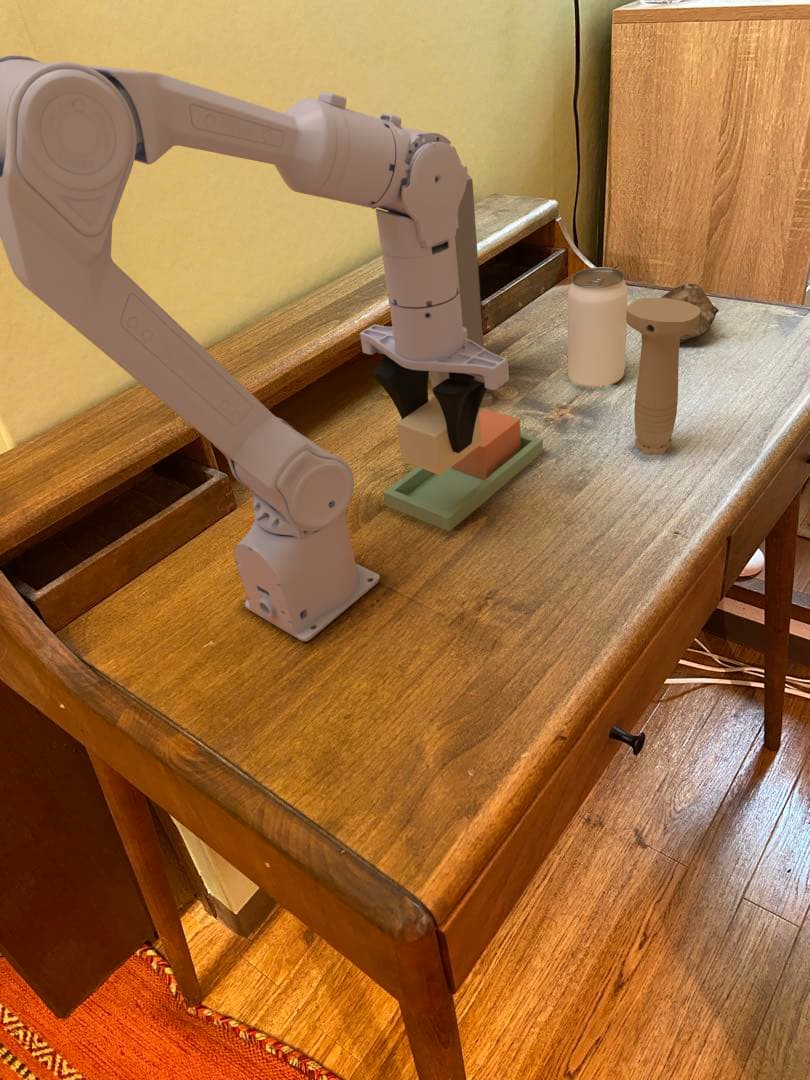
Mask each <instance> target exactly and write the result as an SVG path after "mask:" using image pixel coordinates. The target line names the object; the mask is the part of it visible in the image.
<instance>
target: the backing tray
mask: <svg viewBox="0 0 810 1080" xmlns="http://www.w3.org/2000/svg"><path fill="white" fill-rule="evenodd" d="M520 437H521V451H519V452H518V453H517V454H516V455H514V456H513V457H512V458H511V459H510V460H508V461H507V462H506V463H505V464H504V465H502V466H501V467H500V468H499V469H498V470H496V471H495V472H494V473H493V474H491V475H490V476H489V477H488V478H487V479H485V480H483V479H480V478H477V477H475V476H472V475H469V474H466V473H463V472H461V471H458V470H455V469H452V467H451V468H449V469H448V470H447V471H446V472H444V473H443V474H442V475H438V474H435V473H433V472H430V471H427V470H425V469H422V468H419V467H417V466H415V467H414V468H413V469H412V470H411V471H409V472H408V473H406V474H405V475H404V476H403V477H401V478H400V479H398V480H397V481H396V482H394V483H393V484H392V485H390V486H389V487H388V488H386V489H385V490H384V491H382V494H383V495H382V496H383V501H384V504H385V505H384V506H387V507H389V508H392V509H394V510H397V511H398V512H401V513H404V514H406V515H409V516H411V517H413V518H416V519H418V520H421V521H423V522H425V523H427V524H430V525H432V526H435V527H437V528H439V529H441V530H445V531H446V532H451V531H452V530H454V529H455V527H457V526H458V525H459V524H460V523H462V522H463V521H464V520H465V519H467V517H469V516H470V515H471V514H472V513H474V511H476V510H477V509H478V508H479V507H481V506H482V505H483V504H484V503H485V502H486V501H488V500H489V499H490V498H491V497H492V496H493V495H494V494H496V493H497V492H498V491H499V490H500V489H502V488H503V487H504V486H505V485H506V484H507V483H509V482H510V481H512V479H513V478H515V477H516V476H517V475H519V473H520V472H522V471H523V470H524V469H525V468H526V467H527V466H529V465H530V464H531V463H532V462H533V461H534V460H536V459H537V458H538V457H539V456H540V455H542V454H543V453H544V439H543V438H540V437H537V436H534V435H530V434H528V433H524V432H521V431H520Z"/></svg>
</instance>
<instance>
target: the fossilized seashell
mask: <svg viewBox="0 0 810 1080" xmlns="http://www.w3.org/2000/svg"><path fill="white" fill-rule="evenodd" d="M660 298H669V299H675V300H681V301H685V302H688V303H691V304H693V305H695V306H697V307H700V310H701V312H700V320H699V324H698V326H697V327H696V328H695V329H694V330H692V331H691V332H689V333H687V334H685V335H682V336H681V338H680V343H684V342H691V341H695V340H697V339H700V338H701V337H703V336H705V335H706V334H707V333H708V332H709V331H710V328H711V326H712V325H713V323H714V320H715V318H716V315H717V313H719V312H720V310H719V308H717V306H715V305H714V304H713V302H712V301H711V299H710V298H709V296H707V294H706V292H705V291H704V290H703V288H702V287H701V286H700V285H698V284H696V283H693V282H692V283H691V282H690V283H685V284H682V285H679V286H677V287H675V288H673V289H671V290H670V291H668V292H667V293H665V294H664V295H662V296H661V297H660Z"/></svg>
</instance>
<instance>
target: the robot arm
mask: <svg viewBox="0 0 810 1080" xmlns="http://www.w3.org/2000/svg"><path fill="white" fill-rule="evenodd" d="M346 105H347V98H346V97H345V96H342V95H339V94H336V93H333V92H332V93H331V92H324V91H320V92H319V94H318V99H316V98H314V97H304V98H302V99H299V100H298V101H297V102H294V103H293V104H292V105H291V106H290V107H289V108H287V109H286V110H285V111H283V112H281V111H278V110H275V109H271V108H268V107H265V106H262V105H259V104H256V103H252V102H249V101H246V100H244V99H240V98H237V97H235V96H231V95H228V94H226V93H221V92H219V91H215V90H212V89H209V88H206V87H204V86H200V85H197V84H195V83H191V82H188V81H184V80H182V79H179V78H177V77H173V76H169V75H167V74H163V73H160V72H159V73H158V72H153V71H147V70H146V71H145V70H138V69H130V68H120V67H110V66H99V65H90V64H81V63H78V62H71V61H53V62H44V61H40V60H38V59H35V58H33V57H30V56H24V55H17V54H14V55H13V54H12V55H11V54H10V55H3V56H0V240H1V243H2V246H3V248H4V252H5V254H6V257H7V260H8V263H9V265H10V268H11V271H12V272H13V274H14V276H15V277H16V278H17V280H18V281H19V282H20V283H21V285H23V287H24V288H26V289H27V290H28V291H29V292H31V293H32V294H33V295H34V296H35V297H37V299H39V300H40V301H41V302H43V304H45V305H46V306H47V307H48V308H50V309H51V310H52V311H53V312H54V313H56V314H57V315H58V316H59V317H60V318H62V319H63V320H64V321H65V322H66V323H68V324H69V325H70V326H71V327H72V328H74V329H75V331H77V332H78V333H80V334H81V335H82V336H83V337H85V338H86V339H87V340H88V341H89V342H90V343H91V344H93V345H94V346H95V347H97V349H99V350H100V351H101V352H102V353H103V354H104V355H106V356H107V357H108V358H109V359H111V360H112V361H113V362H114V363H115V364H117V365H118V366H119V367H120V368H122V369H123V370H124V371H125V372H126V373H128V375H130V376H131V377H132V378H133V379H134V380H136V381H137V382H138V383H139V384H141V385H142V387H144V388H145V389H146V390H147V391H149V392H150V393H151V394H153V395H154V396H155V397H156V398H157V399H158V400H159V401H161V402H162V403H163V404H165V406H167V407H168V408H169V409H171V410H172V411H173V412H174V413H175V414H176V415H178V417H180V418H181V419H182V420H183V421H185V422H186V423H187V424H188V425H190V426H191V427H192V428H193V429H195V430H196V431H197V432H198V433H199V434H200V435H202V436H203V437H204V438H205V439H206V440H208V441H209V442H210V444H212V445H213V446H214V447H215V448H216V449H217V450H218V451H220V452H221V453H222V455H223V456H224V457H225V459H226V460H227V463H228V465H229V468H230V472H231V473H232V476H233V477H234V478H235V480H237V482H239V483H240V484H241V485H242V486H244V487H246V488H248V489H250V491H251V495H252V498H253V513H254V517H255V519H254V521H253V523H252V525H251V527H250V529H249V531H248V532H247V533H246V534H245V535H244V536H243V538H242V539H241V540H240V541H239V542H238V543H237V544H236V545H235V547H234V548H233V558H234V562H235V566H236V569H237V571H238V574H239V578H240V581H241V584H242V586H243V590H244V593H245V596H246V600H245V602H244V607H245V609H247V610H248V611H250V612H252V613H254V614H255V615H257V616H258V617H261V618H262V619H264V620H265V621H267V622H269V623H271V624H272V625H274V626H275V627H277V628H279V629H280V630H282V631H284V632H286V633H287V634H289V635H291V636H292V637H294V638H296V639H297V640H299V641H301V642H308V641H310V640H311V639H313V638H314V637H315V636H316V635H317V634H319V633H320V632H321V631H322V630H324V629H325V628H326V627H327V626H328V625H329V624H331V623H332V622H333V621H334V620H335V619H337V618H338V617H339V616H340V615H341V614H343V613H344V612H345V611H346V610H347V609H349V607H351V606H352V605H354V604H355V603H356V602H357V601H358V600H359V599H360V598H361V597H363V596H364V595H365V594H366V593H368V592H369V591H370V590H371V589H373V588H374V586H376V585H377V584H378V583H379V582H380V579H381V575H380V574H379V573H378V572H375V571H373V570H371V569H369V568H367V567H365V566H363V565H360V564H359V563H356V559H355V553H354V548H353V543H352V539H351V534H350V530H349V524H348V519H347V514H346V511H347V509H348V507H349V505H350V503H351V500H352V498H353V494H354V490H355V489H354V488H355V478H354V473H353V471H352V468H351V467H350V465H349V463H348V462H347V461H345V459H343V458H342V457H340V456H339V455H338V454H334V453H330V452H329V451H327V450H326V449H324V448H323V447H321V446H320V445H319V444H317V443H315V442H314V441H313V440H311V439H310V438H308V437H306V436H305V435H304V434H302V433H300V432H299V431H297V430H295V429H294V426H292V425H291V424H289V422H288V421H285V420H284V419H283V418H280V417H277V416H276V415H275V414H273V413H272V412H271V411H270V410H269V409H268V408H267V407H266V406H265V405H264V403H262V402H260V400H258V398H257V397H256V396H255V395H254V394H252V393H251V392H250V391H249V390H248V389H247V388H246V387H245V386H244V385H243V384H242V383H241V382H240V381H239V380H238V379H236V377H234V375H233V374H232V373H230V372H229V371H228V370H227V369H226V368H225V367H224V366H223V365H222V364H221V363H220V362H219V361H218V360H217V359H216V358H215V357H214V356H212V355H211V354H210V352H208V351H207V350H206V349H205V347H203V346H202V345H201V344H200V343H199V341H197V340H196V339H195V338H194V337H193V336H192V335H191V334H190V333H188V332H187V330H185V328H183V327H182V326H181V325H180V324H179V323H178V322H177V321H176V320H175V319H174V318H173V317H172V316H171V315H170V314H169V313H168V312H167V311H166V310H164V308H162V307H161V306H160V305H159V304H158V303H157V302H156V301H155V300H154V299H153V298H152V297H151V296H150V295H149V294H148V293H147V292H146V291H145V290H143V289H142V287H140V285H138V284H137V283H136V282H135V281H134V280H133V279H132V278H131V277H130V276H129V275H128V274H127V273H126V272H125V271H124V270H123V269H122V268H120V266H119V265H117V263H115V262H114V260H113V258H112V242H113V241H112V239H113V222H114V219H115V216H116V213H117V211H118V208H119V205H120V202H121V200H122V197H123V194H124V192H125V189H126V186H127V183H128V181H129V178H130V175H131V173H132V169H133V166H134V162H138V163H142V164H145V165H151V164H154V163H156V162H157V161H158V160H159V159H160V158H161V157H162V156H164V155H165V154H167V152H169V151H170V150H171V149H172V148H173V147H178V146H179V147H183V148H184V147H185V148H189V149H194V150H200V151H205V152H209V153H215V154H219V155H224V156H229V157H235V158H239V159H245V160H249V161H254V162H259V163H264V164H270V165H274V167H275V169H276V170H277V172H278V173H279V175H280V177H281V179H282V180H283V182H284V183H285V185H286V186H287V188H289V189H290V190H291V191H292V192H295V193H298V194H302V195H303V194H304V195H308V196H313V197H319V198H323V199H327V200H333V201H337V202H342V203H346V204H351V205H355V206H360V207H365V208H369V209H372V210H375V215H376V216H375V217H376V222H377V230H378V236H379V243H380V250H381V256H382V265H383V270H384V276H385V277H384V278H385V284H386V285H385V286H386V293H387V298H388V300H387V301H388V306H389V313H390V318H391V321H390V322H391V326H386V325H379V324H372V325H371V326H369V327H367V328H366V329H364V330H362V331H361V332H359V336H360V343H361V349H362V353H363V354H367V355H375V354H376V353H377V354H382V360H381V364H379V365H378V366H376V367H375V368H374V369H373V376H374V379H375V380H376V381H377V383H379V384H380V385H381V387H382V388H383V389H384V391H386V393H387V395H388V396H389V398H390V399H391V401H392V403H393V404H394V406H395V407H396V408H395V409H397V412H398V413H399V416H400V418H401V420H402V419H404V418H405V417H407V416H408V415H409V414H411V413H412V412H414V411H415V410H417V409H418V408H420V407H421V406H423V405H424V404H425V403H427V402H428V401H429V377H428V375H429V371H436V372H448V373H449V379H446V380H444V381H443V382H441V383H440V384H438V385H437V386H435V387H434V388H432V394H433V395H434V397H436V398H437V400H438V402H439V404H440V406H441V408H442V411H443V414H444V417H445V421H446V425H447V432H448V437H449V441H450V445H451V448H452V450H453V452H456V453H460V452H461V451H463V450H464V449H465V448H466V447H468V446H469V445H470V444H472V439H473V433H474V427H475V423H476V418H477V414H478V411H479V412H480V405H481V402H482V400H483V397H484V395H485V393H486V391H487V389H491V390H492V391H496V390H497V389H499V388H500V387H502V386H504V385H505V384H506V383H507V382H509V380H510V376H509V375H510V373H509V372H510V371H509V359H508V358H507V357H504V356H500V355H498V354H496V353H494V352H492V351H489V350H488V349H486V348H485V347H484V348H483V347H481V346H480V345H478V344H476V343H475V342H473V341H472V340H470V339H468V338H467V329H466V328H464V327H463V323H462V311H461V300H460V288H459V276H458V265H457V254H456V242H455V235H456V229H457V228H459V224H458V208H459V204H460V202H461V199H462V197H463V195H464V192H465V188H466V183H467V173H468V166H466V165H464V164H462V160H461V159H460V156H459V153H458V152H457V149H456V147H455V146H454V145H451V143H452V141H451V140H450V139H449V138H448V137H446V136H445V135H443V134H440V133H437V132H431V131H425V130H418V129H412V128H405V127H403V126H402V118H401V117H400V116H398V115H394V114H392V113H386V112H383V113H381V114H380V116H379V117H375V116H372V115H369V114H365V113H362V112H359V111H356V110H353V109H349V108H347V107H346Z"/></svg>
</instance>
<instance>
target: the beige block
mask: <svg viewBox="0 0 810 1080" xmlns="http://www.w3.org/2000/svg"><path fill="white" fill-rule="evenodd" d="M479 412H480V410H479V411H478V414H477V418H476V423H475V427H474V433H473V439H472V444H470V445H469V446H468V447H466V448H465V449H464V450H463V451H461V452H460V453H456V452H453V450H452V448H451V445H450V441H449V437H448V432H447V425H446V421H445V417H444V414H443V411H442V408H441V406H440V404H439V402H438V400H437V398H436V397H435V396H434V397H432V398H431V399H430V400H428V402H427V403H425V404H424V405H423V406H421V407H420V408H418V409H417V410H415V411H414V412H412V413H411V414H409V415H408V416H407V417H405V418H404V419H402V418H401V420H399V421H398V422H397V423H396V427H397V434H398V441H399V446H400V453H401V461H402V462H403V463H406V464H409V465H412V466H415V467H419V468H422V469H425V470H427V471H430V472H433V473H435V474H438V475H442V474H443V473H444V472H446V471H447V470H448V469H449V468H451V467H452V466H453V465H455V464H456V463H457V462H459V461H460V460H461V459H462V458H464V457H465V456H466V455H468V454H469V453H470V452H471V451H473V450H474V449H475V448H477V447H478V446H479V445H481V444H482V440H481V427H480V415H479Z"/></svg>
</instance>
